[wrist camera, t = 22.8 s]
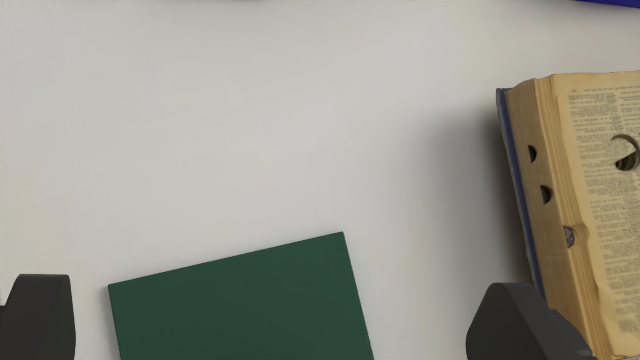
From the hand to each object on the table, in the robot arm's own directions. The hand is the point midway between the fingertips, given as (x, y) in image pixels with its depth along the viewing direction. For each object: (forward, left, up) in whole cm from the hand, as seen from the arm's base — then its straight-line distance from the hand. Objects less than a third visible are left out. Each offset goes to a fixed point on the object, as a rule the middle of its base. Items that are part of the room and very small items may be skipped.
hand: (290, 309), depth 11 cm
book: (+20, -22, -21) cm, 36 cm away
